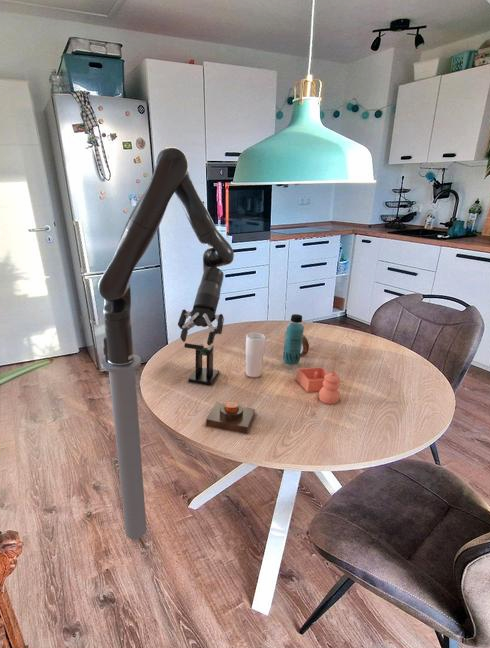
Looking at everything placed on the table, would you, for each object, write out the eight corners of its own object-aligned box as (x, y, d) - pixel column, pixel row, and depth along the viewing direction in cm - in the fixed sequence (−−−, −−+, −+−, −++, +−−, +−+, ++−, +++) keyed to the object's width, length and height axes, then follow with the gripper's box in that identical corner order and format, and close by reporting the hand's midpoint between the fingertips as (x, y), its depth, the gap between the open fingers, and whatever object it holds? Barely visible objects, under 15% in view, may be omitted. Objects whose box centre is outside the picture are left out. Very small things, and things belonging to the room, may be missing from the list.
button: (223, 411, 110) (224, 406, 109) (227, 405, 113) (227, 400, 112) (236, 414, 109) (236, 408, 108) (239, 407, 112) (239, 402, 112)
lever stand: (210, 385, 131) (211, 354, 126) (188, 382, 133) (188, 350, 128) (219, 373, 140) (220, 343, 135) (198, 369, 142) (198, 340, 137)
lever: (201, 351, 119) (203, 343, 119) (183, 348, 121) (185, 341, 121) (213, 356, 133) (214, 349, 133) (196, 354, 134) (198, 347, 135)
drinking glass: (257, 369, 144) (260, 331, 137) (265, 377, 138) (269, 338, 132) (240, 371, 142) (243, 333, 135) (248, 380, 136) (251, 340, 129)
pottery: (296, 379, 137) (299, 354, 133) (320, 377, 140) (324, 352, 135) (319, 405, 122) (324, 378, 117) (346, 402, 124) (351, 375, 120)
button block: (206, 425, 110) (206, 414, 108) (216, 408, 118) (216, 396, 117) (247, 433, 107) (248, 421, 105) (254, 415, 116) (255, 403, 114)
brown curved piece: (308, 357, 155) (310, 338, 151) (301, 358, 154) (304, 339, 150) (289, 344, 167) (291, 325, 164) (282, 344, 166) (284, 326, 163)
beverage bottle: (279, 362, 150) (284, 313, 142) (294, 360, 152) (299, 311, 144) (287, 369, 144) (293, 318, 136) (302, 367, 147) (309, 317, 138)
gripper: (184, 289, 125) (171, 334, 120) (226, 294, 122) (215, 340, 117) (190, 301, 132) (178, 344, 127) (230, 305, 129) (219, 350, 123)
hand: (195, 342), depth 122 cm, fingers open, 8 cm apart
